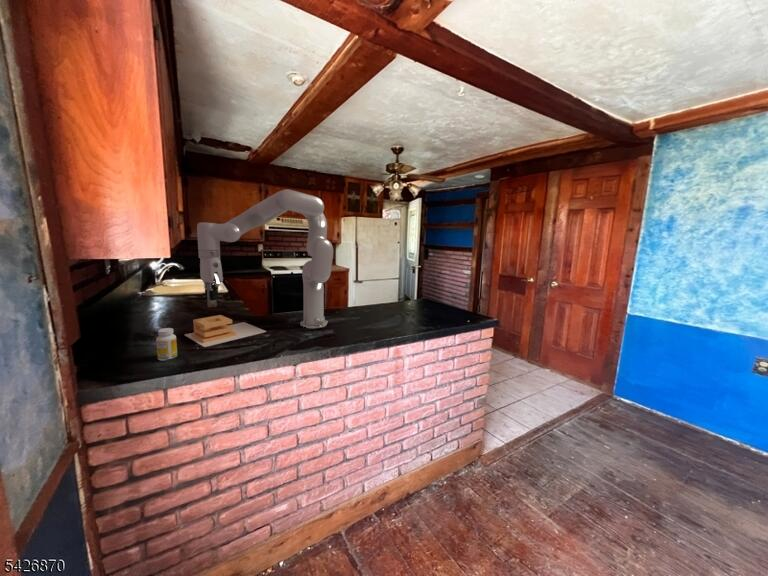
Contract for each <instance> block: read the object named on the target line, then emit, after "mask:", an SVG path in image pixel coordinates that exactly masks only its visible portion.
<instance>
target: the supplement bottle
mask: <svg viewBox="0 0 768 576" xmlns="http://www.w3.org/2000/svg"><path fill="white" fill-rule="evenodd" d="M157 335H158V336H157V337H156V338H155V340H156V341H155V342H156V343H155V344H156V352H157V356H156V357H157V360H159V361H163V362H165V361H167V360H171V359H175V358H176V357H177V356H178V345H177V336H176V334H174V328H171V327H167V328H166V327H165V328H160V329H158V331H157Z"/></svg>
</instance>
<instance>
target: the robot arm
mask: <svg viewBox="0 0 768 576" xmlns="http://www.w3.org/2000/svg"><path fill="white" fill-rule="evenodd" d="M288 211H291V212H294V213H298V214H301V215H302V216H303V217H305V219H306V220H307V223H308V232H307V240H306V252H307V254H308V255H309V257H311V259H310V260H308V261H306V262H305V263H304V264H303V266H302V268H301V274H302V284H303V286H302V287H303V320H302V321H300V327H302V326H303V327H302V328H304V327H306V328H305V329H320V328H324V327H326V326H327V324H328V322H329V321H328V320H326V319H325V318H326V317H325V316H324V314H325V313H324V312H325V311H324V307H325V306H324V302H325V301H324V300H325V299H324V297H325V295H324V294H325V288H324V287H325V286H324V285H325V284H324V283H326V282H327V281H329V278H330V277H331V273H332V266H333V259H334V247H333V244H332V243H331V241H330V240H328V239H327V235H328V222H327V221H328V220H327V218H326V216H325V214H324V211H325V204H324V202H323V200H322V199H321V198H320V197H317V196H315V195H311V194H307V193H304V192H300V191H298V190H297V191H296V190H293V189H282V190H280V191H277V192H275V193H274V194H272V195H270V196H268V197H267V198H265V199H263V200H262V201H260V202H257V203H256V204H254V205H253V206H251V207H250V208H248V209H246V210H245V211H243V212H242V213H240V214H239V215H237V216H234V217H233V218H231V219H229V220H228V221H226V222H224V223H214V222H198V223H197V224H196V233H197V249H198V259H200V260H199V262H200V263H199V269H200V271H199V275H200V276H199V277H200V279H201V281H202V282H203V285H204V286H203V287H204V294H205V295H204V298H205V299H206V300H207V283H206V282H208V283H209V284H210V291H209V297H210V300H216V301H218V300H219V287H220V286H221V283H223V281H224V278H223V277H224V276H223V275H224V274H223V268H222V262H221V261H222V260H221V243H220V242H226V243H235V242H237V241H238V240H240V238H241V236H242V235H244V234H246V233H247V232H249V231H251V230H253V229H255V228H258V227H263V226H265V225H267V223H268V224H269V223H270V222H272V221H273V220H275V219H276V218H278V217H279V216H281V215H283V214H284V213H286V212H288ZM212 282H214V283H212ZM212 284H214V285H213V286H212Z"/></svg>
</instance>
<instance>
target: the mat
mask: <svg viewBox="0 0 768 576" xmlns="http://www.w3.org/2000/svg"><path fill="white" fill-rule="evenodd" d="M227 325H228V326H230V327H232V328H233V332H235V333H236V336H231V337H227V338H223V339H219V340H214V341H210V342H206V343H203V342H201V341H199V340H198V339H196V338H194V337H192V336H191V332H190V333H185V334H184V336H185V337H187V338H188V339H190V340H192V341H194V342H195V343H197V344H198V345H200V346H202V347H204V348H206V347H211V346H215V345H219V344H223V343H227V342H230V341H235V340H238V339H243V338H247V337H252V336H256V335H259V334H264V333H266V332H267V331H266V330H265V329H262V328H261V327H260V328H259V327H257V326H255V325H253V324H249V323H247V322H244V321H243V322H238V323H232V324H227Z"/></svg>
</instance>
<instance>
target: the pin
mask: <svg viewBox="0 0 768 576" xmlns="http://www.w3.org/2000/svg"><path fill="white" fill-rule="evenodd" d="M214 282H215V281H213V282H212V283H214ZM206 283H207V299H206V300H207V308H216V307H217V306H218V305H217V300H210V297H209V291H210V284H209V283H208V282H206ZM213 285H214V284H212V286H213Z"/></svg>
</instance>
